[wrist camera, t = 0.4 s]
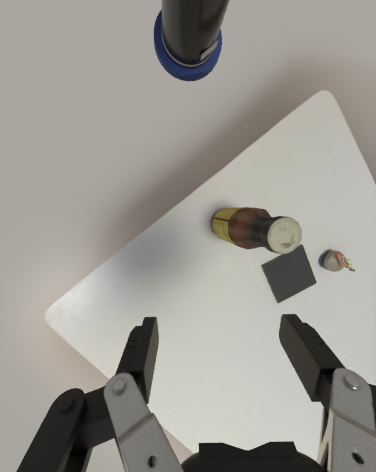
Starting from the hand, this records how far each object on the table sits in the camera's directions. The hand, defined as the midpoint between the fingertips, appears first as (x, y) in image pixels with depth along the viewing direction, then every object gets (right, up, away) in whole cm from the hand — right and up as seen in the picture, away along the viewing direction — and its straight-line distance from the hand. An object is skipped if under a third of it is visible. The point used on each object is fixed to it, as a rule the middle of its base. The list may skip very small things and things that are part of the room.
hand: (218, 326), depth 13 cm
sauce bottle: (+6, +9, +28) cm, 29 cm away
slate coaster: (+21, -3, +31) cm, 38 cm away
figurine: (+30, +1, +32) cm, 44 cm away
